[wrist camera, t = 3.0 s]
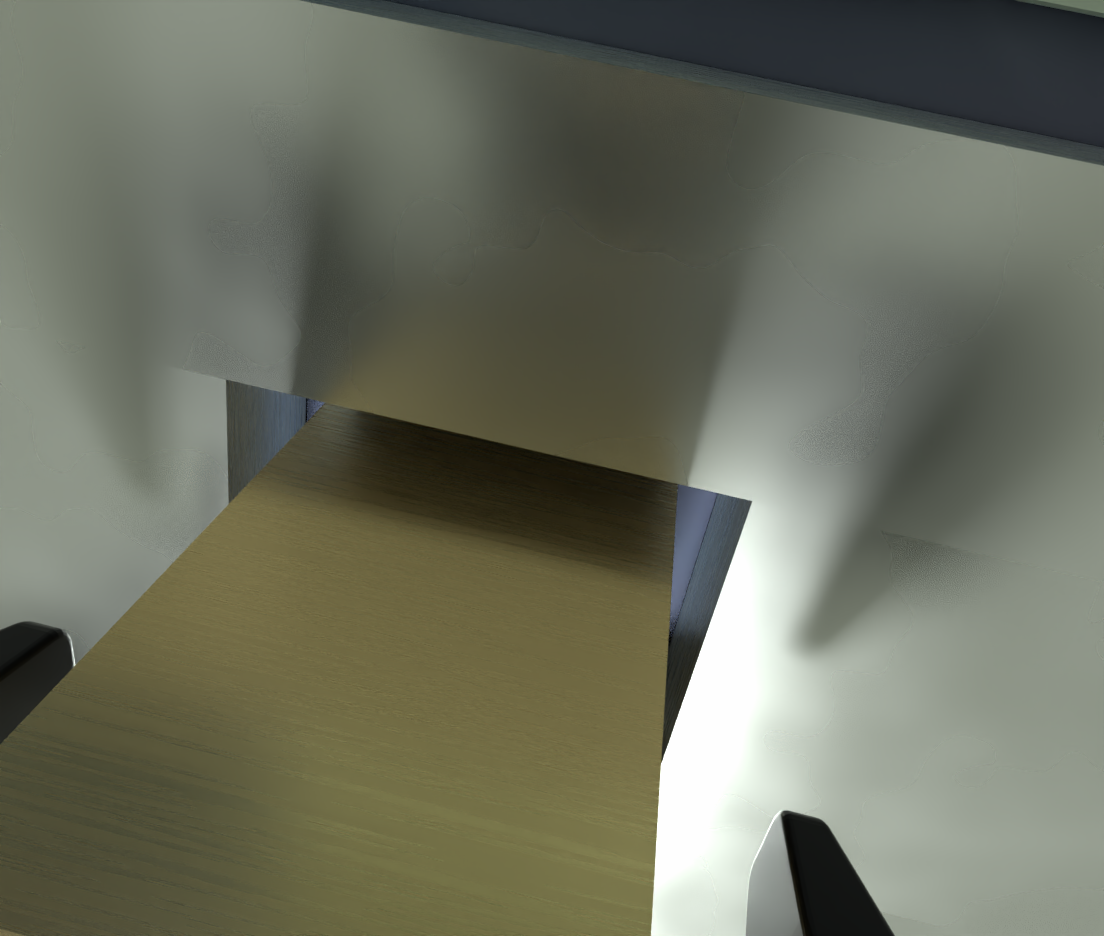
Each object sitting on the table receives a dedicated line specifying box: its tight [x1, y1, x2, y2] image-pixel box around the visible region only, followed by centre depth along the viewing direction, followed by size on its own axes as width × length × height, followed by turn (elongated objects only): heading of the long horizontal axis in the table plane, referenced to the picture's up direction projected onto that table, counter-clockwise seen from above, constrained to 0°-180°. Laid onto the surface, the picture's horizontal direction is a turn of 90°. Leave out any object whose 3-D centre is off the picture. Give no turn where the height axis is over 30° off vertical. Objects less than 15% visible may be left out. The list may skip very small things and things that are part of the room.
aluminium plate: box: [0, 0, 1104, 936], centre depth 10 cm, size 20×12×2 cm, turn 80°
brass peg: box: [0, 403, 678, 936], centre depth 8 cm, size 4×4×7 cm
